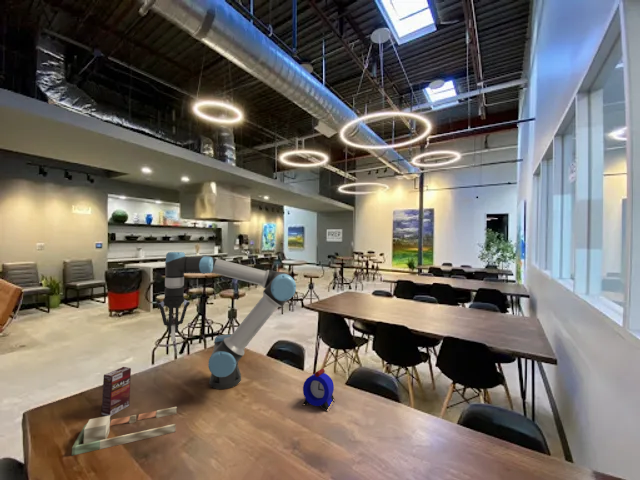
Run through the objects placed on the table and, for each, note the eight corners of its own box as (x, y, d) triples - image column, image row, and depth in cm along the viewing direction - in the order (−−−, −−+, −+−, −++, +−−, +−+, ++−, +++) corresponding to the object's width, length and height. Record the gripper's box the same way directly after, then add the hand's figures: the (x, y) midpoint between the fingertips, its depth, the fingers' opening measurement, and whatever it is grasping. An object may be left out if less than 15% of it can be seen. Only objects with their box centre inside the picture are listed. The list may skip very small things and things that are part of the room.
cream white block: (109, 432, 104) (110, 415, 104) (105, 442, 98) (105, 424, 98) (88, 436, 101) (89, 419, 101) (83, 447, 96) (84, 429, 96)
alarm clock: (301, 406, 123) (302, 371, 123) (312, 392, 134) (313, 361, 135) (327, 413, 118) (328, 376, 119) (336, 398, 130) (337, 365, 130)
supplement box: (110, 417, 112) (111, 376, 112) (101, 414, 113) (102, 374, 114) (130, 405, 120) (131, 367, 121) (121, 403, 122) (123, 366, 122)
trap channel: (176, 407, 120) (176, 401, 120) (175, 431, 104) (175, 425, 104) (88, 425, 107) (88, 418, 107) (71, 455, 92) (72, 447, 92)
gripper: (190, 285, 132) (189, 335, 132) (158, 286, 127) (156, 339, 126) (190, 287, 125) (189, 341, 125) (156, 288, 120) (155, 345, 119)
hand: (173, 340), depth 126 cm, fingers closed
